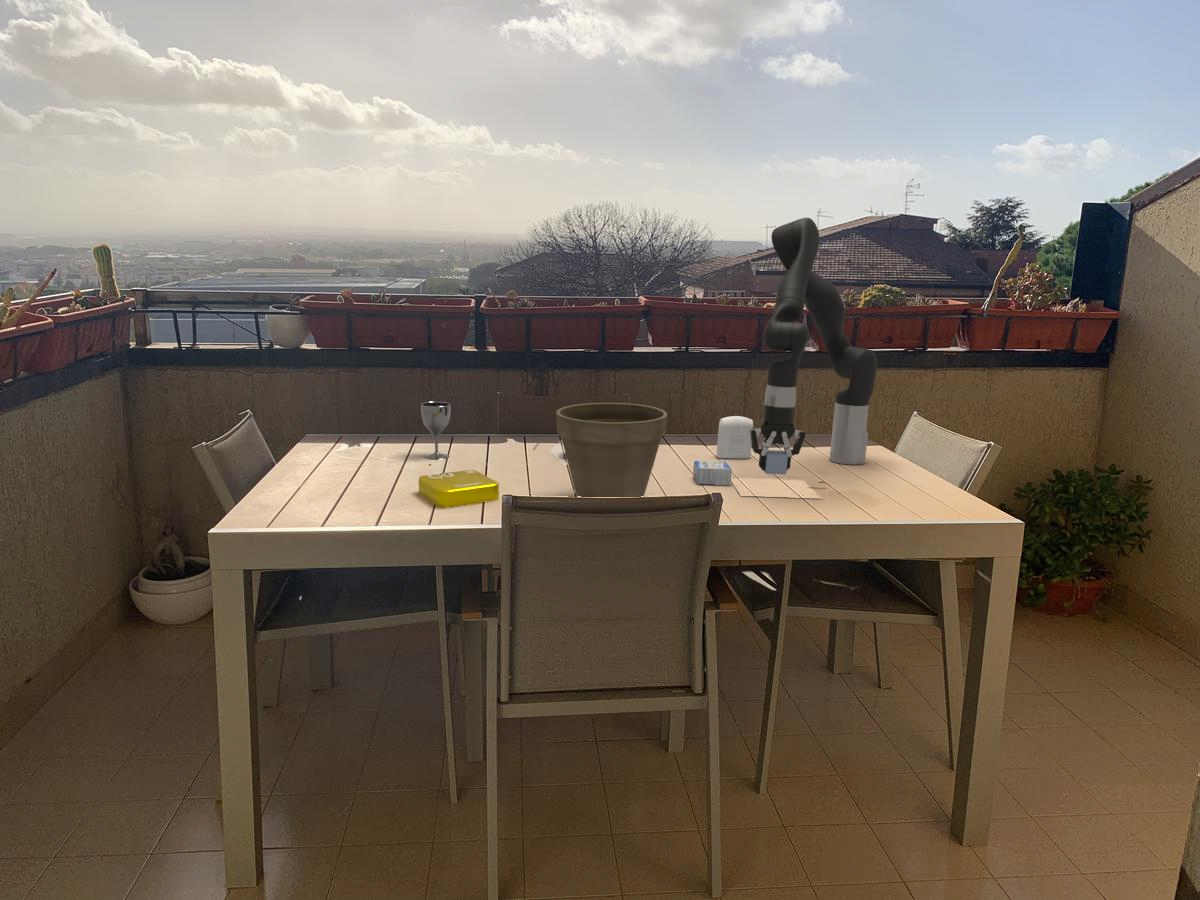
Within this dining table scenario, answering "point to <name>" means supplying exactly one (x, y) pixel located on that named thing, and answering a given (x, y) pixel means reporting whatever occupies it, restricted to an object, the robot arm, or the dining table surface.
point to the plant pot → (610, 446)
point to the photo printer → (734, 437)
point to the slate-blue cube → (776, 462)
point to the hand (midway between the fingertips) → (773, 469)
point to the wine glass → (436, 423)
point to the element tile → (458, 488)
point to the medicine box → (712, 472)
